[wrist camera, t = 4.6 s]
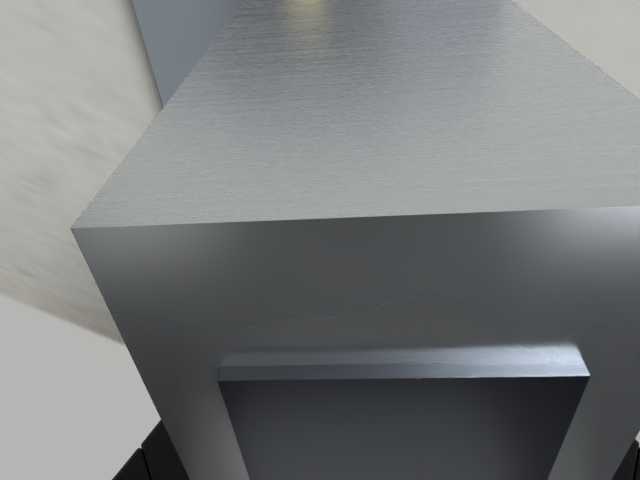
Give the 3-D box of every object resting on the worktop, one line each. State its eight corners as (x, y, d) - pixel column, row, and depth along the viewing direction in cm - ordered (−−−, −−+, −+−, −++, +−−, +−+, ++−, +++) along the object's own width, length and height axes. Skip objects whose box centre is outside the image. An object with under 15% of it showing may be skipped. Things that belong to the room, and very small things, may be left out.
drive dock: (464, 296, 24) (487, 379, 20) (230, 304, 25) (208, 384, 21) (543, -401, 11) (654, -557, 7) (53, -321, 12) (-90, -416, 8)
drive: (428, 397, 13) (479, 720, 8) (314, 399, 13) (296, 713, 8) (470, -32, 7) (788, 214, 2) (257, -16, 7) (59, 240, 2)
